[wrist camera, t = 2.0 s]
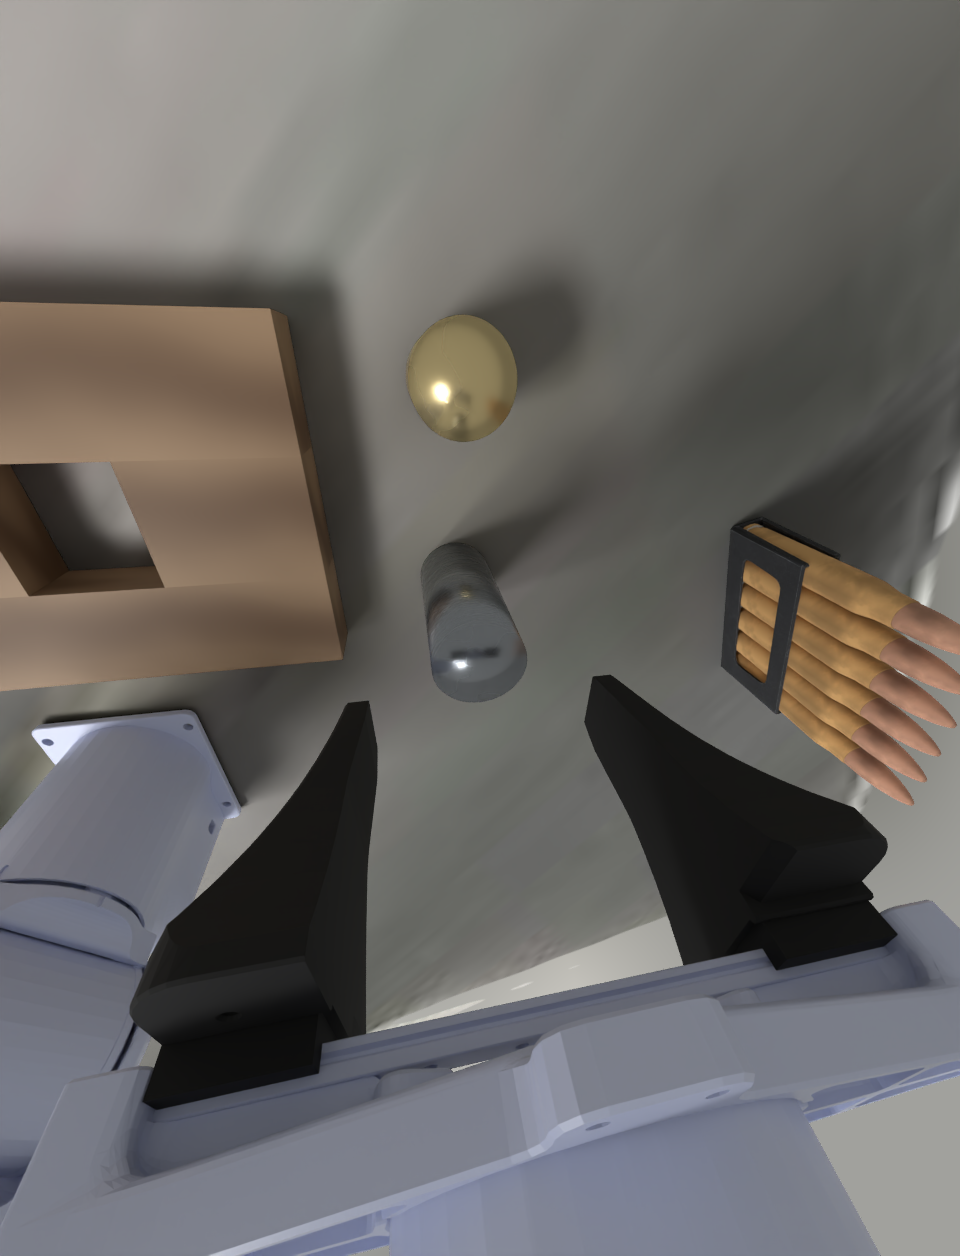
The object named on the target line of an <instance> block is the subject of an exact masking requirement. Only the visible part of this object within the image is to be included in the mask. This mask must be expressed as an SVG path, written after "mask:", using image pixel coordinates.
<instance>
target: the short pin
mask: <svg viewBox="0 0 960 1256" xmlns="http://www.w3.org/2000/svg"><path fill="white" fill-rule="evenodd" d="M406 383H407V388H408V392H409V395H410V397H411V400H412V402H413V404H414V406H415V408H416V410H417V412H418V414H419V415H420V417H421V418H422V420H423V421H424V422H425V423H426V425H427V426H428V427H429V428H431V429H432V430H433V431H434V432H436V433H437V434H439V435H440V436H442V437H444V438H447V439H450V440H453V441H459V442H468V441H474V440H478V439H481V438H483V437H485V436H487V435H489V434H491V433H492V432H493V431H495V430H496V429H497V428H498V427H499V426H500V425H501V424H502V423H503V421H504V420H505V419H506V417H507V415H508V414H509V412H510V410H511V408H512V405H513V402H514V399H515V395H516V391H517V369H516V363H515V359H514V356H513V353H512V350H511V348H510V346H509V344H508V343H507V341H506V340H505V338H504V337H503V335H502V334H501V333H500V332H499V331H498V330H497V329H496V328H495V327H494V326H493V325H491V324H490V323H488V322H487V321H485V320H483V319H480V318H478V317H475V316H471V315H454V316H450V317H446V318H444V319H441V320H440V321H438V322H436V323H435V324H433V325H432V326H431V327H430V328H429V329H428V330H427V331H426V332H425V333H424V334H423V335H422V336H421V337H420V338H419V339H418V340H417V341H416V343H415V344H414V346H413V348H412V350H411V352H410V354H409V357H408V360H407V365H406Z"/></svg>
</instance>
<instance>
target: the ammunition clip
mask: <svg viewBox="0 0 960 1256" xmlns="http://www.w3.org/2000/svg"><path fill="white" fill-rule="evenodd" d="M839 559H840V554H839V553H837V552H835V551H833V550H830V549H828V548H826V547H824V546H822V545H820V544H818V543H816V542H814V541H812V540H810V539H807V538H805V537H803V536H801V535H799V534H797V533H795V532H793V531H791V530H789V529H786V528H784V527H782V526H780V525H778V524H776V523H774V522H772V521H770V520H768V519H766V518H763V517H761V518H758V519H755V520H752V521H749V522H746V523H743V524H740V525H737V526H734V527H733V528H732V529H731V531H730V546H729V560H728V574H727V588H726V602H725V616H724V630H723V644H722V659H721V667H723V668H724V669H725V670H726V671H727V672H728V673H729V674H731V675H732V676H733V677H734V678H735V679H736V680H737V681H739V682H740V683H741V684H742V685H743V686H744V687H745V688H746V689H748V690H749V691H750V692H751V693H752V694H753V695H754V696H756V697H757V698H758V699H759V700H760V701H761V702H762V703H764V704H765V705H766V706H767V707H768V708H769V709H770V710H772V711H773V712H774V713H775V714H779V713H781V712H782V713H783V714H784V715H785V716H786V717H788V718H789V719H790V720H791V721H792V722H793V723H794V724H795V725H797V726H798V727H799V728H800V729H801V730H802V731H803V732H804V733H806V734H807V735H808V736H809V737H810V738H811V739H812V740H813V741H815V742H816V743H817V744H819V745H820V746H822V747H824V748H825V749H827V750H828V751H830V752H831V753H832V754H834V755H835V756H836V757H837V758H839V759H840V760H841V761H842V762H844V763H845V764H847V765H848V766H849V767H850V768H851V769H852V770H854V771H855V772H856V773H857V774H858V775H860V776H861V777H862V778H864V779H865V780H866V781H868V782H869V783H870V784H872V785H873V786H875V787H876V788H878V789H879V790H881V791H882V792H884V793H886V794H887V795H889V796H891V797H893V798H894V799H896V800H898V801H900V802H902V803H905V804H907V805H911V806H912V805H914V801H913V799H912V797H911V795H910V793H909V792H908V791H907V789H906V788H905V786H904V785H903V784H902V783H901V781H900V780H899V779H898V778H897V777H896V776H895V775H894V773H893V772H892V771H891V770H890V769H889V768H887V766H889V767H891V768H892V769H894V770H896V771H898V772H900V773H902V774H903V775H905V776H908V777H910V778H912V779H914V780H917V781H920V782H926V781H927V778H926V776H925V774H924V772H923V771H922V769H921V768H920V767H919V765H918V764H917V763H916V762H915V761H914V759H913V758H912V757H911V756H910V755H909V754H908V753H907V752H906V751H905V750H904V749H903V748H902V747H901V746H900V745H899V744H898V743H897V742H896V741H894V740H893V739H892V738H891V737H890V736H892V737H893V738H895V739H897V740H899V741H900V742H902V743H904V744H906V745H908V746H911V747H912V748H915V749H917V750H919V751H921V752H924V753H927V754H930V755H933V756H940V755H941V752H940V750H939V748H938V747H937V745H936V743H935V742H934V741H933V740H932V738H931V737H930V736H929V735H928V734H927V733H926V732H925V731H924V730H923V729H922V728H921V727H920V726H919V725H918V724H917V723H916V722H914V721H913V720H912V719H911V718H910V717H909V716H907V715H906V714H905V713H903V712H902V711H901V710H900V709H899V708H897V707H896V706H898V707H900V708H902V709H903V710H905V711H907V712H909V713H911V714H914V715H916V716H918V717H920V718H922V719H925V720H927V721H929V722H932V723H935V724H938V725H941V726H945V727H949V728H955V727H956V726H957V724H956V722H955V720H954V719H953V717H952V716H951V715H950V714H949V712H948V711H947V710H946V709H945V708H944V707H943V706H942V705H941V704H940V703H939V702H938V701H936V700H935V699H934V698H933V697H932V696H931V695H930V694H928V693H927V692H926V691H925V690H923V689H922V688H921V687H919V686H918V685H917V684H915V683H914V682H913V681H911V680H910V679H908V678H907V677H905V676H903V675H902V674H900V673H899V672H897V671H896V670H895V669H897V670H899V671H900V672H902V673H904V674H906V675H908V676H910V677H913V678H915V679H917V680H919V681H921V682H923V683H926V684H928V685H931V686H933V687H936V688H939V689H942V690H945V691H947V692H951V693H955V694H959V695H960V675H959V674H958V673H957V672H956V671H955V670H954V669H952V668H951V667H950V666H949V665H947V664H946V663H945V662H944V661H942V660H941V659H939V658H938V657H936V656H935V655H933V654H932V653H931V652H929V651H927V650H926V649H924V648H923V647H921V646H919V645H917V644H915V643H914V642H912V641H910V640H908V639H907V638H906V637H905V636H903V635H901V634H900V633H898V632H896V631H894V630H893V629H896V630H898V631H900V632H902V633H904V634H906V635H908V636H910V637H912V638H914V639H917V640H919V641H921V642H924V643H926V644H929V645H931V646H933V647H936V648H939V649H942V650H945V651H948V652H951V653H955V654H958V655H960V625H959V624H958V623H956V622H954V621H953V620H951V619H949V618H948V617H946V616H944V615H942V614H941V613H939V612H936V611H935V610H932V609H930V608H928V607H926V606H924V605H922V604H920V603H919V602H918V601H916V600H914V599H912V598H910V597H908V596H906V595H904V594H902V593H900V592H899V591H898V590H896V589H895V588H894V587H892V586H891V585H889V584H888V583H887V582H885V581H883V580H881V579H879V578H877V577H874V576H872V575H870V574H868V573H866V572H863V571H861V570H859V569H857V568H854V567H852V566H850V565H848V564H846V563H843V562H841V561H839ZM889 627H890V628H889ZM891 628H893V629H891ZM886 663H887V664H886ZM889 665H890V666H889ZM891 666H892V667H894V668H895V669H894V668H892V667H891ZM887 700H888V701H887ZM890 702H891V703H890ZM892 703H893V704H894V705H896V706H894V705H893V704H892ZM779 710H780V711H781V712H780V711H779ZM883 731H884V732H883ZM886 733H887V734H888V735H887V734H886ZM889 735H890V736H889ZM882 762H883V763H884V764H883V763H882ZM885 764H886V765H887V766H886V765H885Z"/></svg>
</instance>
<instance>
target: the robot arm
mask: <svg viewBox="0 0 960 1256" xmlns="http://www.w3.org/2000/svg"><path fill="white" fill-rule="evenodd" d="M584 722H585V725H586V728H587V731H588V734H589V737H590V739H591V742H592V744H593V747H594V750H595V752H596V754H597V756H598V758H599V759H600V761H601V763H602V765H603V767H604V769H605V771H606V773H607V775H608V777H609V779H610V780H611V782H612V784H613V786H614V788H615V790H616V792H617V794H618V795H619V797H620V799H621V801H622V803H623V805H624V807H625V809H626V811H627V813H628V815H629V817H630V819H631V821H632V823H633V826H634V828H635V831H636V833H637V835H638V838H639V840H640V843H641V845H642V848H643V850H644V853H645V855H646V858H647V860H648V863H649V866H650V868H651V871H652V874H653V876H654V879H655V881H656V884H657V887H658V890H659V893H660V895H661V898H662V901H663V904H664V907H665V910H666V913H667V915H668V918H669V921H670V924H671V927H672V931H673V934H674V937H675V940H676V943H677V946H678V949H679V952H680V955H681V958H682V961H683V965H684V966H680V967H675V968H670V969H666V970H661V971H656V972H652V973H647V974H642V975H637V976H633V977H628V978H624V979H619V980H614V981H610V982H605V983H600V984H596V985H592V986H586V987H582V988H578V989H572V990H568V991H563V992H559V993H554V994H549V995H545V996H540V997H535V998H531V999H526V1000H521V1001H517V1002H512V1003H508V1004H503V1005H498V1006H494V1007H489V1008H484V1009H480V1010H475V1011H471V1012H466V1013H462V1014H456V1015H452V1016H447V1017H443V1018H438V1019H433V1020H429V1021H424V1022H419V1023H415V1024H410V1025H405V1026H401V1027H396V1028H392V1029H387V1030H382V1031H378V1032H373V1033H368V1034H366V915H367V872H368V855H369V845H370V837H371V828H372V820H373V812H374V803H375V795H376V786H377V742H376V737H375V731H374V726H373V721H372V715H371V710H370V704H369V701H361V702H352V703H348V704H347V705H346V706H345V708H344V710H343V712H342V714H341V716H340V718H339V720H338V722H337V724H336V726H335V728H334V730H333V732H332V734H331V736H330V738H329V739H328V741H327V743H326V744H325V746H324V748H323V750H322V751H321V753H320V755H319V756H318V758H317V760H316V761H315V763H314V764H313V766H312V767H311V769H310V770H309V772H308V773H307V775H306V776H305V778H304V779H303V781H302V782H301V784H300V785H299V787H298V788H297V790H296V791H295V792H294V794H293V795H292V796H291V798H290V799H289V800H288V802H287V803H286V804H285V806H284V807H283V808H282V809H281V811H280V812H279V813H278V814H277V816H276V817H275V818H274V819H273V820H272V822H271V823H270V824H269V825H268V826H267V827H266V829H265V830H264V831H263V832H262V833H261V834H260V836H259V837H258V838H257V839H256V840H255V841H254V842H253V843H252V844H251V846H250V847H249V848H248V849H247V850H246V851H245V852H244V853H243V854H242V855H241V856H240V857H239V858H238V859H237V860H236V861H235V862H234V863H233V864H232V865H231V866H230V867H229V868H228V869H227V870H226V871H225V872H224V873H223V874H222V875H221V876H220V877H219V878H218V879H217V880H216V881H215V882H214V883H213V884H212V885H211V886H210V887H209V888H208V889H207V890H205V891H204V892H203V893H202V894H201V895H200V896H199V897H198V898H197V899H195V900H194V898H195V895H196V893H197V890H198V887H199V885H200V882H201V879H202V877H203V874H204V871H205V869H206V866H207V863H208V861H209V858H210V856H211V853H212V850H213V848H214V845H215V842H216V840H217V837H218V834H219V832H220V829H221V826H222V824H223V821H224V819H228V818H234V817H237V816H239V814H240V812H241V807H240V805H239V802H238V800H237V798H236V796H235V794H234V792H233V790H232V788H231V786H230V784H229V782H228V779H227V777H226V775H225V773H224V771H223V769H222V767H221V765H220V763H219V761H218V758H217V756H216V754H215V752H214V750H213V748H212V746H211V744H210V742H209V740H208V738H207V735H206V733H205V731H204V729H203V727H202V725H201V723H200V721H199V719H198V717H197V715H196V714H195V713H194V712H193V711H191V710H176V711H167V712H157V713H147V714H138V715H128V716H118V717H109V718H99V719H89V720H80V721H70V722H60V723H51V724H42V725H38V726H37V727H36V728H35V729H34V730H33V731H32V735H33V737H34V738H35V740H36V741H37V742H38V744H39V745H40V746H41V747H42V749H43V750H44V751H45V752H46V754H47V755H48V756H49V757H50V759H51V760H52V761H53V763H54V764H55V766H54V768H53V769H52V770H51V771H50V772H49V774H48V775H47V776H46V777H45V778H44V779H43V781H42V782H41V783H40V784H39V785H38V787H37V788H36V789H35V790H34V791H33V792H32V794H31V795H30V796H29V797H28V798H27V800H26V801H25V802H24V803H23V804H22V805H21V807H20V808H19V809H18V810H17V811H16V813H15V814H14V815H13V816H12V817H11V818H10V820H9V821H8V822H7V823H6V824H5V826H4V827H3V828H2V829H1V830H0V1256H349V1255H353V1254H357V1253H361V1252H365V1251H368V1250H372V1249H377V1248H380V1247H384V1246H388V1245H389V1250H390V1251H389V1254H390V1255H389V1256H881V1255H880V1253H879V1251H878V1249H877V1248H876V1246H875V1244H874V1242H873V1240H872V1238H871V1236H870V1235H869V1233H868V1231H867V1229H866V1227H865V1225H864V1224H863V1222H862V1220H861V1218H860V1216H859V1214H858V1213H857V1211H856V1209H855V1207H854V1205H853V1203H852V1201H851V1199H850V1198H849V1196H848V1194H847V1192H846V1190H845V1188H844V1187H843V1185H842V1183H841V1181H840V1179H839V1178H838V1176H837V1174H836V1172H835V1171H834V1168H833V1166H832V1165H831V1163H830V1161H829V1159H828V1157H827V1155H826V1153H825V1151H824V1150H823V1148H822V1146H821V1144H820V1142H819V1140H818V1139H817V1137H816V1135H815V1133H814V1131H813V1129H812V1127H811V1126H810V1124H809V1123H811V1122H814V1121H817V1120H820V1119H823V1118H826V1117H829V1116H832V1115H836V1114H838V1113H842V1112H845V1111H848V1110H851V1109H854V1108H857V1107H860V1106H864V1105H867V1104H870V1103H873V1102H876V1101H879V1100H882V1099H886V1098H889V1097H892V1096H895V1095H898V1094H902V1093H905V1092H908V1091H911V1090H914V1089H917V1088H921V1087H924V1086H927V1085H931V1084H934V1083H937V1082H941V1081H944V1080H947V1079H951V1078H954V1077H958V1076H960V929H959V927H958V926H957V925H956V924H955V923H954V922H953V921H952V920H951V919H950V918H949V917H948V916H947V915H946V914H945V913H944V912H943V911H942V910H941V909H940V908H939V907H938V906H937V905H936V904H935V903H934V902H933V901H929V900H924V901H919V902H914V903H909V904H905V905H900V906H896V907H892V908H889V909H887V910H884V911H882V912H881V913H879V912H878V911H877V910H876V909H875V908H874V906H873V905H872V904H871V903H870V902H869V900H872V898H873V893H872V892H871V891H870V890H869V889H868V888H867V886H866V885H865V884H864V883H863V882H862V880H863V879H864V878H865V877H866V876H867V875H868V874H869V873H870V872H871V870H873V868H874V867H875V866H876V865H877V864H878V863H879V862H880V861H881V860H882V858H883V857H884V856H885V854H886V851H887V848H888V846H887V845H888V844H887V840H886V838H885V837H884V836H883V835H882V834H881V833H880V832H879V831H878V830H877V829H876V828H875V827H874V826H873V825H872V824H871V823H869V822H868V821H867V820H866V819H865V818H864V817H863V816H862V815H861V814H860V813H859V812H858V811H857V810H856V809H855V808H854V807H851V806H848V805H845V804H842V803H840V802H837V801H834V800H831V799H828V798H826V797H823V796H820V795H817V794H814V793H812V792H809V791H806V790H804V789H801V788H799V787H797V786H794V785H792V784H789V783H787V782H784V781H782V780H780V779H777V778H775V777H773V776H771V775H768V774H766V773H764V772H762V771H760V770H758V769H756V768H754V767H752V766H749V765H747V764H745V763H743V762H741V761H739V760H737V759H735V758H734V757H732V756H730V755H728V754H726V753H724V752H722V751H721V750H719V749H717V748H715V747H714V746H712V745H710V744H708V743H707V742H705V741H703V740H702V739H700V738H698V737H697V736H695V735H693V734H692V733H690V732H689V731H687V730H686V729H684V728H683V727H681V726H680V725H678V724H677V723H675V722H674V721H672V720H671V719H669V718H668V717H667V716H665V715H664V714H662V713H661V712H660V711H658V710H657V709H655V708H654V707H653V706H651V705H650V704H649V703H647V702H646V701H645V700H643V699H642V698H641V697H639V696H638V695H637V694H635V693H634V692H633V691H632V690H630V689H629V688H628V687H626V686H625V685H624V684H622V683H621V682H620V681H618V680H617V679H616V678H614V677H613V676H611V675H603V676H594V677H593V678H592V684H591V689H590V694H589V700H588V705H587V711H586V716H585V721H584ZM188 724H191V725H188ZM150 954H151V956H150ZM149 956H150V958H149ZM148 958H149V961H147V960H148ZM151 1037H153V1038H154V1039H155V1040H156V1041H158V1042H159V1043H160V1044H161V1045H162V1046H161V1049H160V1052H159V1055H158V1058H157V1061H156V1064H155V1067H154V1068H153V1067H149V1066H139V1064H140V1062H141V1060H142V1058H143V1056H144V1054H145V1051H146V1049H147V1047H148V1044H149V1042H150V1039H151ZM486 1060H488V1061H486ZM482 1061H485V1062H482ZM478 1062H482V1063H480V1064H477V1065H473V1066H470V1067H468V1068H465V1069H462V1070H459V1071H456V1072H453V1071H452V1070H451V1069H452V1068H456V1067H460V1066H464V1065H469V1064H473V1063H478Z"/></svg>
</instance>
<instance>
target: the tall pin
mask: <svg viewBox="0 0 960 1256" xmlns="http://www.w3.org/2000/svg"><path fill="white" fill-rule="evenodd" d="M421 582H422V591H423V599H424V608H425V616H426V625H427V633H428V642H429V650H430V659H431V667H432V675H433V678H434V681H435V683H436V685H437V686H438V687H439V689H440V690H442V691H443V692H444V693H445V694H446V695H448V696H450V697H452V698H454V699H456V700H460V701H464V702H483V701H488V700H492V699H494V698H497V697H499V696H501V695H503V694H505V693H506V692H508V691H509V690H510V689H512V688H513V687H514V686H515V685H516V684H517V683H518V681H519V680H520V679H521V677H522V676H523V673H524V671H525V668H526V664H527V652H526V649H525V646H524V644H523V642H522V639H521V637H520V635H519V633H518V631H517V628H516V626H515V624H514V622H513V620H512V617H511V615H510V613H509V611H508V609H507V606H506V604H505V602H504V600H503V598H502V596H501V593H500V591H499V589H498V587H497V585H496V582H495V580H494V578H493V576H492V574H491V571H490V569H489V567H488V565H487V563H486V561H485V559H484V557H483V556H482V554H481V553H480V552H479V551H477V550H476V549H475V548H473V547H471V546H469V545H466V544H461V543H451V544H446V545H443V546H441V547H439V548H437V549H435V550H434V551H433V552H432V553H431V554H429V556H428V557H427V558H426V560H425V561H424V564H423V566H422V570H421Z"/></svg>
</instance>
